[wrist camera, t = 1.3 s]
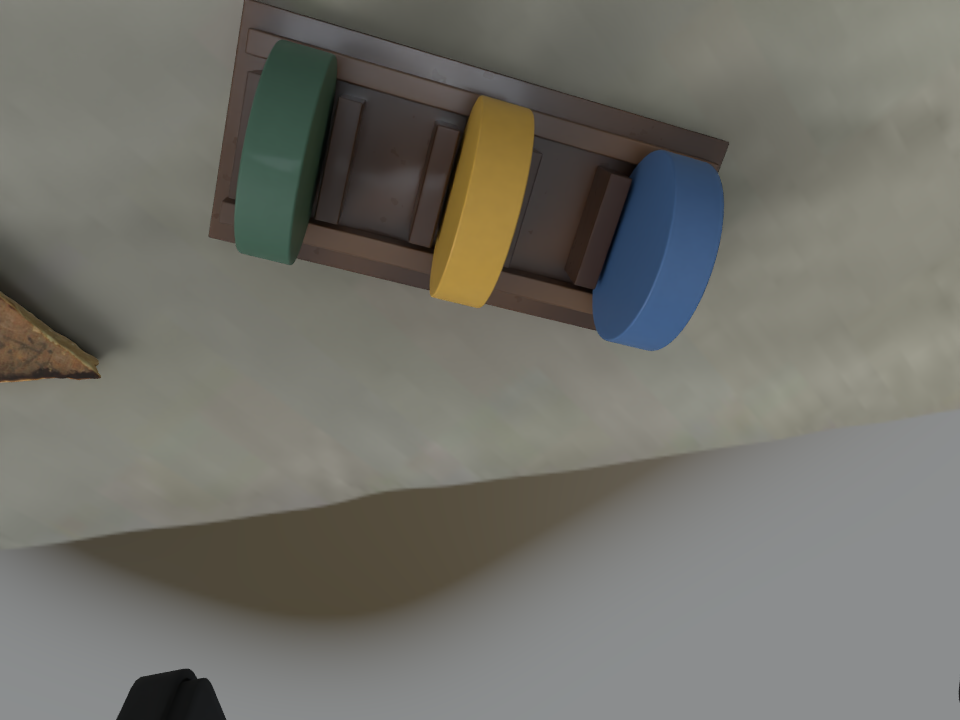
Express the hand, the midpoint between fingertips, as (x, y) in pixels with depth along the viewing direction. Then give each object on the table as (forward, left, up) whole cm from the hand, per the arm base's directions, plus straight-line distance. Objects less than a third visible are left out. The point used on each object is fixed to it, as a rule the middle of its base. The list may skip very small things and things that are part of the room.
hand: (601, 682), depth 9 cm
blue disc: (+7, +3, -27) cm, 28 cm away
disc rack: (0, +1, -28) cm, 28 cm away
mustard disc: (0, +1, -27) cm, 27 cm away
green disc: (-8, 0, -27) cm, 28 cm away
